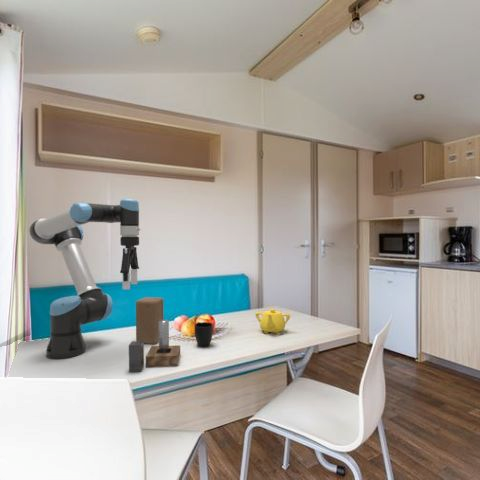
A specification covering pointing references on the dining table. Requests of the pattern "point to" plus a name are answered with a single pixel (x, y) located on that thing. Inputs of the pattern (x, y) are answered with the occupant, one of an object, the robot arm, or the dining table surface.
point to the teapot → (272, 321)
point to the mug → (203, 333)
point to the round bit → (164, 336)
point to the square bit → (136, 356)
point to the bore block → (163, 357)
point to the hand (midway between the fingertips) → (130, 286)
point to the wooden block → (148, 319)
